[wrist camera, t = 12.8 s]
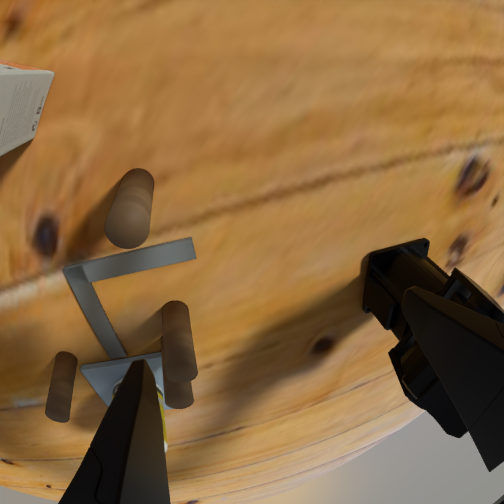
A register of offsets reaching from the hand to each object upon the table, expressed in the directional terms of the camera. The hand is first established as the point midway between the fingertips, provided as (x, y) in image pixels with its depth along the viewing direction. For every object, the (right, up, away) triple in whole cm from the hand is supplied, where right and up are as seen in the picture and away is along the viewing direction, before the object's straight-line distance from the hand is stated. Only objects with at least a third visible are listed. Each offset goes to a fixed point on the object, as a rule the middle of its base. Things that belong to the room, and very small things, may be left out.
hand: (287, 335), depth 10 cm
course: (-12, 0, +11) cm, 16 cm away
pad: (-12, -10, +17) cm, 23 cm away
